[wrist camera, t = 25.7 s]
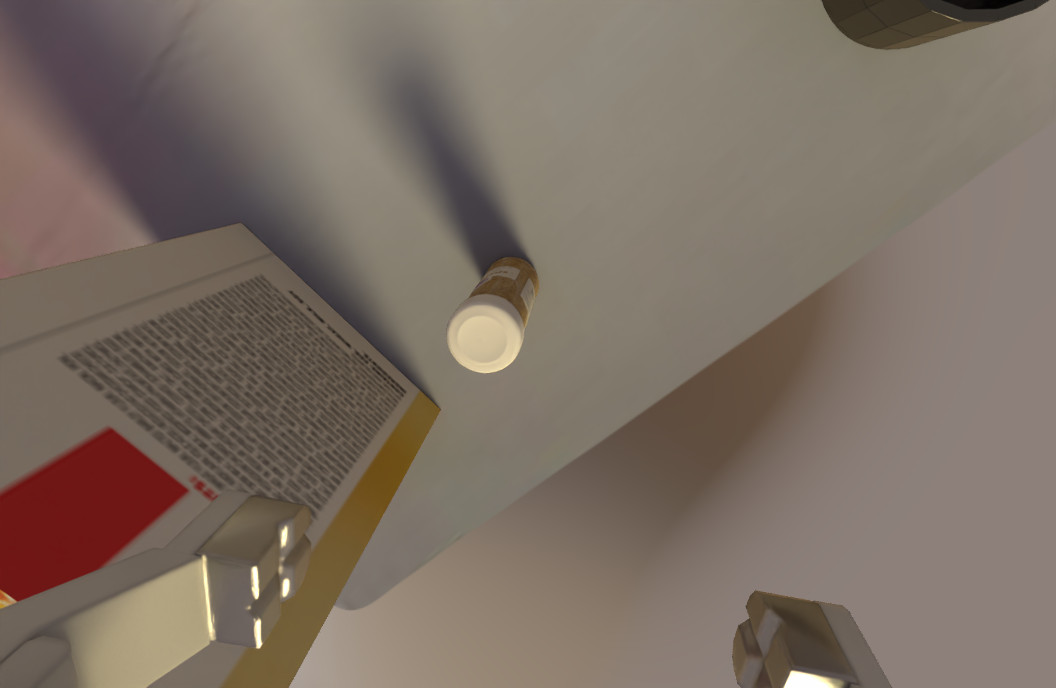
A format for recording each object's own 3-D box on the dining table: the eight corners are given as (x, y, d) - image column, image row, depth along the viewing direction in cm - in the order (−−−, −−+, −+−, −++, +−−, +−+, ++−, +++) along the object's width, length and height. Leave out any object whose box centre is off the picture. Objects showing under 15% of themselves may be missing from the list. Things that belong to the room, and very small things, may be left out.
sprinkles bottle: (501, 245, 43) (466, 287, 31) (550, 274, 44) (535, 327, 31) (475, 292, 45) (431, 351, 32) (522, 320, 45) (497, 388, 33)
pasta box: (190, 286, 47) (-380, 495, 19) (241, 222, 45) (-330, 356, 17) (384, 459, 52) (145, 834, 24) (440, 409, 49) (246, 763, 21)
